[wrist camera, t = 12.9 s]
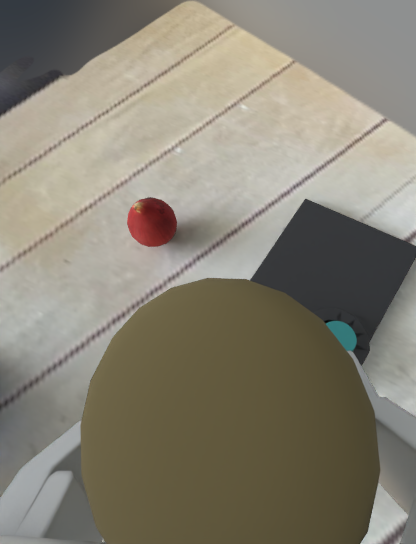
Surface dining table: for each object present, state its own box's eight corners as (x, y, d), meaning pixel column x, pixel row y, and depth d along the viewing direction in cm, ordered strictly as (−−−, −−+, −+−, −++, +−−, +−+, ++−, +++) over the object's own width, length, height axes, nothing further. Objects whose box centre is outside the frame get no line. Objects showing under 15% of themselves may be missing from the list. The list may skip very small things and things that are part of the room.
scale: (340, 385, 25) (350, 387, 22) (231, 312, 30) (228, 307, 27) (413, 253, 28) (430, 241, 25) (303, 205, 33) (307, 190, 30)
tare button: (340, 362, 24) (346, 362, 22) (310, 343, 25) (313, 342, 23) (356, 335, 24) (363, 333, 22) (325, 317, 25) (330, 314, 24)
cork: (313, 339, 14) (466, 261, 4) (296, 469, 12) (504, 1046, 2) (206, 314, 15) (99, 210, 5) (177, 426, 14) (-73, 606, 3)
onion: (154, 214, 37) (127, 175, 29) (190, 223, 35) (171, 185, 27) (136, 249, 35) (103, 219, 28) (173, 261, 33) (148, 232, 26)
